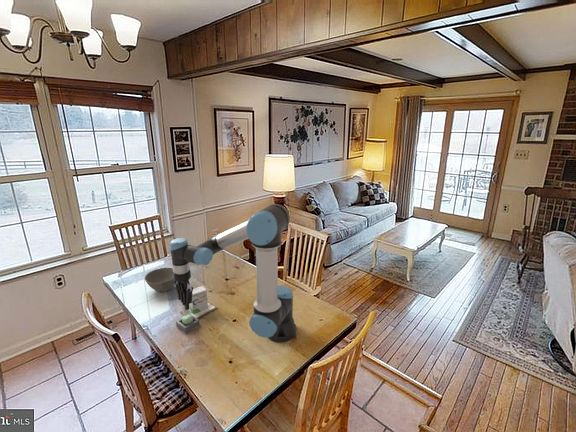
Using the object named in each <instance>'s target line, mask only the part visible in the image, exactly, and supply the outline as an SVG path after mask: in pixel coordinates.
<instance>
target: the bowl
mask: <svg viewBox="0 0 576 432" xmlns="http://www.w3.org/2000/svg"><path fill="white" fill-rule="evenodd" d="M173 273H174V272H173V267H161V268H156V269H153V270H151V271H149V272H148V273H146V274H145V275H144V280H145V282H146V284H147V285H148V286H149V288H151V289H153V290H154V291H156V292H168V291H169V290H171V289H173V287H174V286H175V284H174V281H175V280H174V274H173Z"/></svg>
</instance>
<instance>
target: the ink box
mask: <svg viewBox="0 0 576 432" xmlns="http://www.w3.org/2000/svg"><path fill="white" fill-rule="evenodd" d="M208 302H209V301H208V289H207V288H205V286H204V285H202V286H198V287H195V288H193V291H192V303H190V304H189V307H190V311H191V312H192V313H193V314H195V313H198V312H200V311H203V310H206V309H208Z"/></svg>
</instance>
